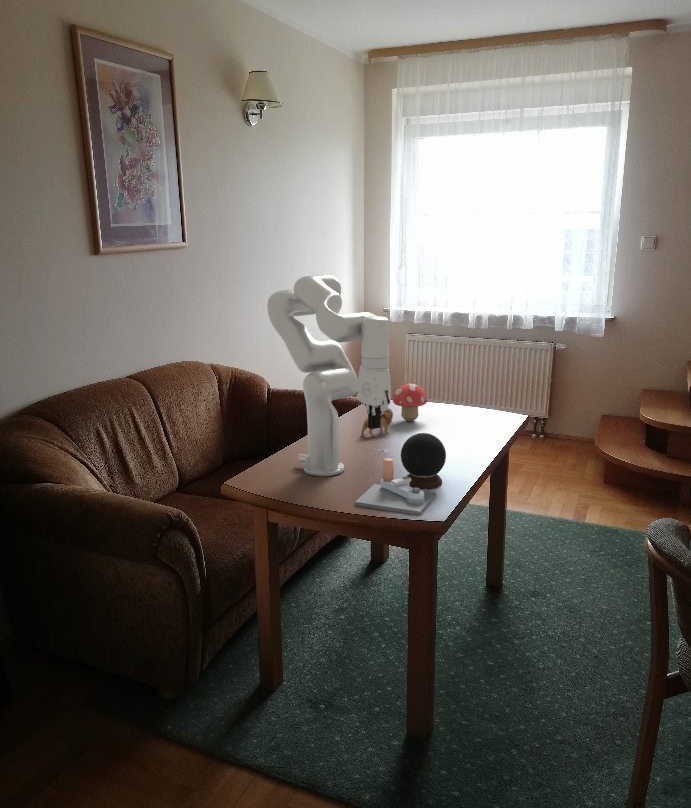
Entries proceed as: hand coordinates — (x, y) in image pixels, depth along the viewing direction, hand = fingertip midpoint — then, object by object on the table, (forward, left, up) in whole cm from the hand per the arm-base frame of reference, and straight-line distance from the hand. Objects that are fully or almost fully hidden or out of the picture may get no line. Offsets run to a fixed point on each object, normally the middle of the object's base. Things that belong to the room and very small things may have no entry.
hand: (374, 427), depth 187 cm
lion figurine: (-21, +55, -20) cm, 62 cm away
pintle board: (+7, -3, -19) cm, 21 cm away
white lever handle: (+8, 0, -18) cm, 20 cm away
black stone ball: (+10, +13, -20) cm, 26 cm away
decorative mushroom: (-15, +76, -20) cm, 80 cm away
